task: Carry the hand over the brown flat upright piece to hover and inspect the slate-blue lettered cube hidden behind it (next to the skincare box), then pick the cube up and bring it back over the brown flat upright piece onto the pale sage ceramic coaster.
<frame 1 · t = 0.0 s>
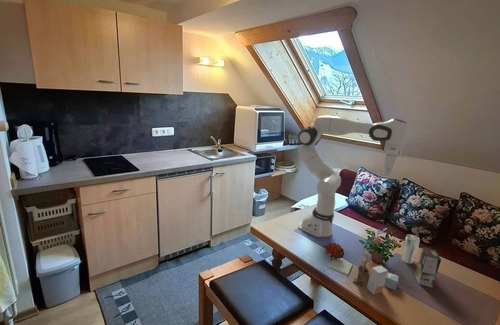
hand: (387, 173, 148), 48 cm above the table, fingers open, 8 cm apart
beer glass: (406, 260, 152), on the table
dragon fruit: (332, 256, 149), point 1 cm above the table, touching coaster
coffee box: (423, 280, 136), on the table
brown flat upright piece: (360, 275, 136), on the table
coaster: (340, 266, 142), on the table
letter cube: (390, 285, 131), on the table
skincare box: (374, 290, 126), on the table
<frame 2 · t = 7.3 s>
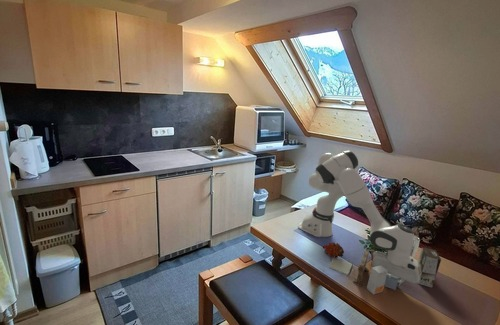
hand: (391, 281, 130), 2 cm above the table, fingers closed on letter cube, 5 cm apart
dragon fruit: (332, 256, 149), on the table, touching coaster
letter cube: (390, 285, 131), on the table, touching gripper
everything else where it was.
when the fingers open (4 cm above the table, at t = 16.6 s): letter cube stays where it is, resting on coaster.
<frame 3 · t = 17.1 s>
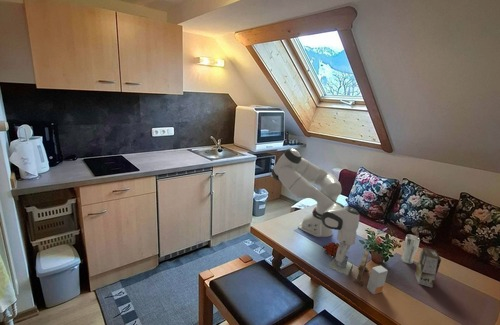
hand: (341, 260, 141), 4 cm above the table, fingers open, 8 cm apart
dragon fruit: (332, 256, 149), point 1 cm above the table, touching gripper
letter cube: (340, 265, 142), point 1 cm above the table, touching coaster
everything else where it was.
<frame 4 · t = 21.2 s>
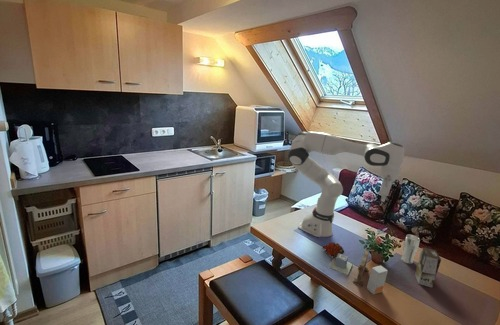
hand: (383, 198, 141), 37 cm above the table, fingers open, 8 cm apart
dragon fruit: (332, 256, 149), on the table, touching coaster
everything else where it was.
at the end: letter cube inside the target area on the coaster (0.0 cm from its centre), point 0.8 cm above the coaster's base; the gripper is holding nothing; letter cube moved 24.1 cm from its start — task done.
